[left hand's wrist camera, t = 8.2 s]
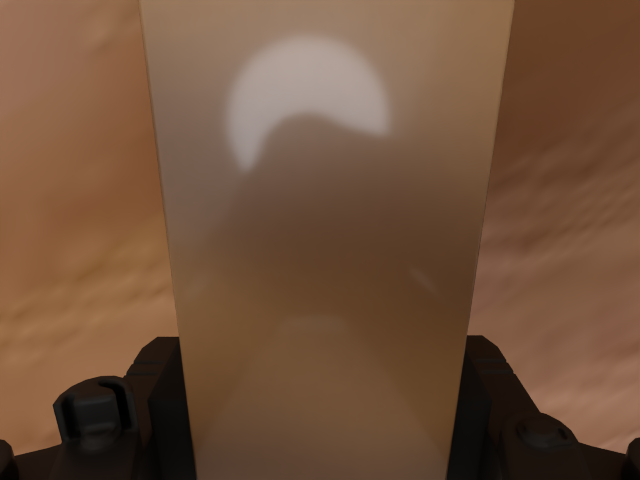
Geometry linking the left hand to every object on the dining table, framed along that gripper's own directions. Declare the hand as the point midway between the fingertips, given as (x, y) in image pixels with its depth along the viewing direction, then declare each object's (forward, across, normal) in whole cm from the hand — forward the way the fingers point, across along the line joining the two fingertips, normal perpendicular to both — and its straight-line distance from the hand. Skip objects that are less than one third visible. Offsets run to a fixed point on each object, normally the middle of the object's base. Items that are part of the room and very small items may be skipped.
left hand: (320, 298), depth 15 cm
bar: (+1, 0, -35) cm, 35 cm away
